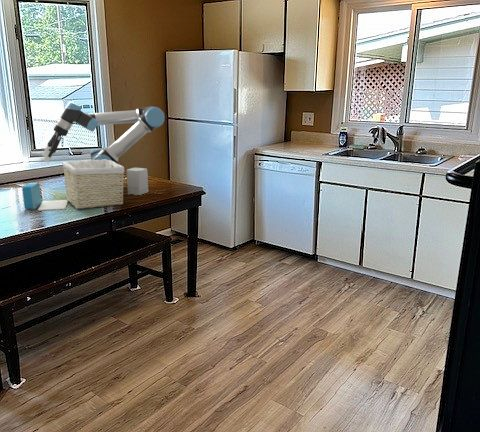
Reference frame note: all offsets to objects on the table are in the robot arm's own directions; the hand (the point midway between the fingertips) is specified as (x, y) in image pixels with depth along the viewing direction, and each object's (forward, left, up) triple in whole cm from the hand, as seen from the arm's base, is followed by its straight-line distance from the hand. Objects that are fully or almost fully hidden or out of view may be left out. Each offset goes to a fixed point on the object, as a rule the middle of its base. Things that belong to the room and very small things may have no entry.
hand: (45, 159), depth 257 cm
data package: (+4, +31, -20) cm, 38 cm away
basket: (-27, +29, -20) cm, 45 cm away
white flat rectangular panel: (-6, +31, -20) cm, 38 cm away
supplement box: (-51, +13, -20) cm, 57 cm away
